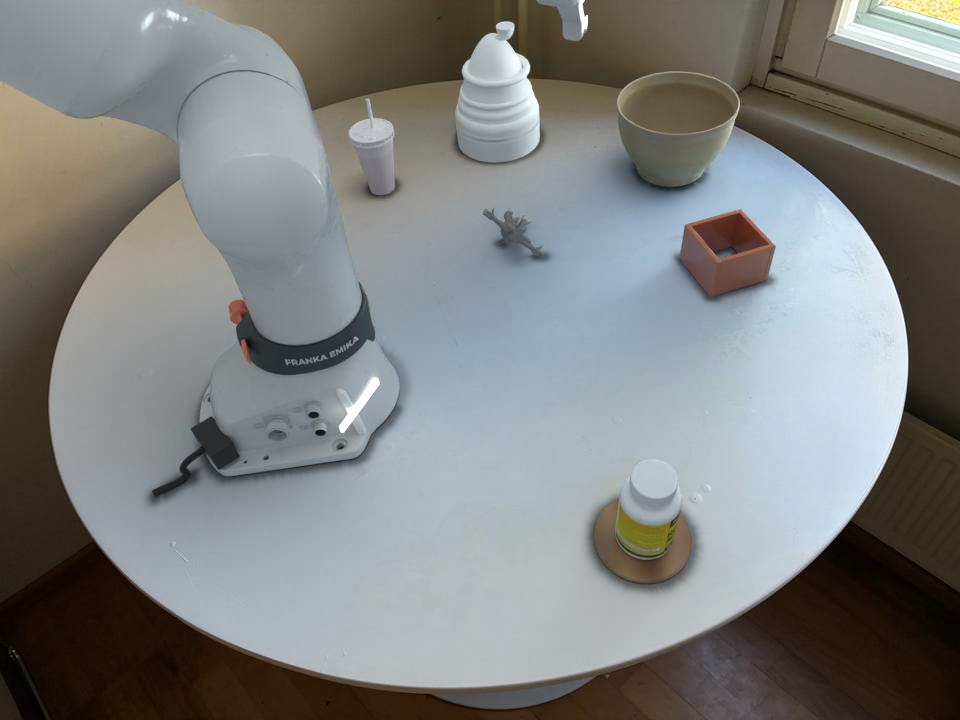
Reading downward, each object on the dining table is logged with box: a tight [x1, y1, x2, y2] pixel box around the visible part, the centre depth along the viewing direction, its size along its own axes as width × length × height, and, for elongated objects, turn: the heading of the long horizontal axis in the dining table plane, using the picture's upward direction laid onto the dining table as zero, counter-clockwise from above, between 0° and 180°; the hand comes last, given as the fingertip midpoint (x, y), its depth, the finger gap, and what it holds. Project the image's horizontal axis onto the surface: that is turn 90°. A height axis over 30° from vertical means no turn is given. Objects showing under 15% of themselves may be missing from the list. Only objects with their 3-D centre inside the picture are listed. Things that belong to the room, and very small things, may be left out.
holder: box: [679, 208, 777, 298], centre depth 94 cm, size 8×8×6 cm
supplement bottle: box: [615, 458, 683, 560], centre depth 68 cm, size 5×5×10 cm
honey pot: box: [454, 21, 541, 163], centre depth 113 cm, size 13×13×18 cm
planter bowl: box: [616, 70, 741, 188], centre depth 107 cm, size 16×16×11 cm
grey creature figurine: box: [482, 207, 545, 258], centre depth 101 cm, size 10×6×9 cm
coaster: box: [593, 498, 692, 584], centre depth 72 cm, size 9×9×1 cm
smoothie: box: [348, 97, 396, 196], centre depth 108 cm, size 6×6×14 cm
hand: (594, 14), depth 71 cm, fingers open, 8 cm apart
